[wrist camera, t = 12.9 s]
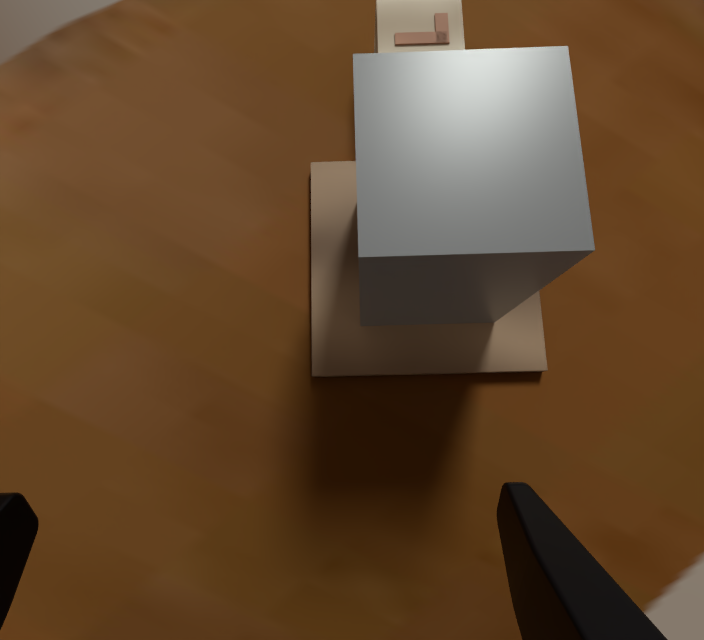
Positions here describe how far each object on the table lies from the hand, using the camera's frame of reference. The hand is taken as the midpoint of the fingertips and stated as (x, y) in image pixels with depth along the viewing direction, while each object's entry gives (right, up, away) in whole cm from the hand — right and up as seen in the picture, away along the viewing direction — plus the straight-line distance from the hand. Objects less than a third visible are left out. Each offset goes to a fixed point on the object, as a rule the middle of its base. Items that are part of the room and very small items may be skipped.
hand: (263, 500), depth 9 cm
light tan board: (+5, +6, +15) cm, 17 cm away
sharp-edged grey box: (+5, +6, +14) cm, 17 cm away
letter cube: (+5, +16, +17) cm, 24 cm away
